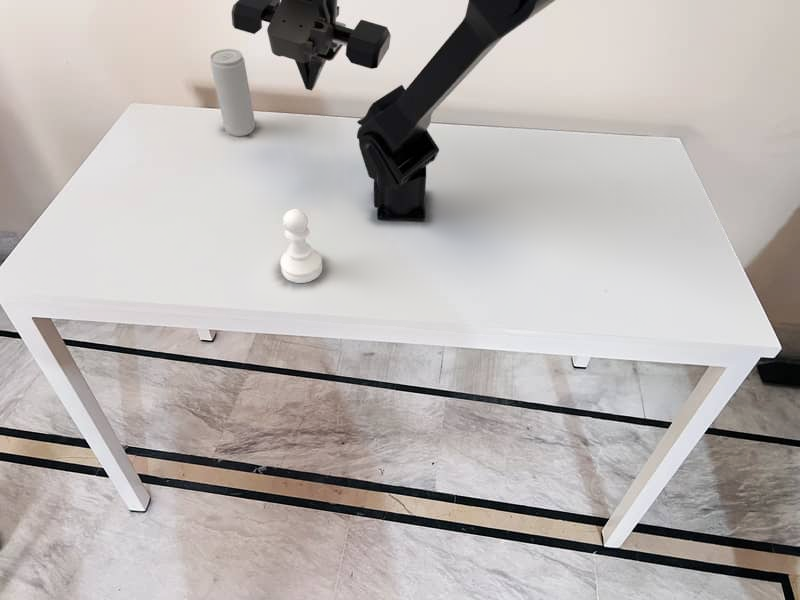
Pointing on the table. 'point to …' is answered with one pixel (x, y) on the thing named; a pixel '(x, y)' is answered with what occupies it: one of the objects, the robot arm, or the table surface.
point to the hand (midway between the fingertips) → (310, 88)
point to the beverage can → (233, 91)
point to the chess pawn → (299, 250)
